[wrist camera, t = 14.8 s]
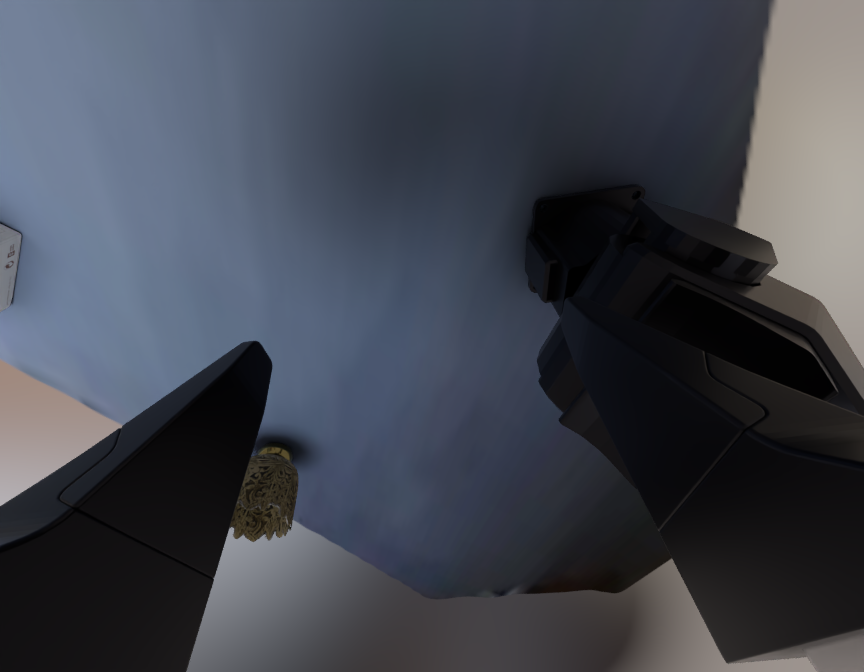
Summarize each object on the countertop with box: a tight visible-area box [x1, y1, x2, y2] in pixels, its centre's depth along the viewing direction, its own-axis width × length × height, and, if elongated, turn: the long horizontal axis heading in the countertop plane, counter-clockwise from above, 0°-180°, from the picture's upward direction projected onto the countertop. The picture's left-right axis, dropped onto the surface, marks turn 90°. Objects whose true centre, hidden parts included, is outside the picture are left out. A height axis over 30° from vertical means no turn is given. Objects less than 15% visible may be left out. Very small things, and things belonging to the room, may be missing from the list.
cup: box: [229, 443, 298, 542], centre depth 33 cm, size 8×7×8 cm
